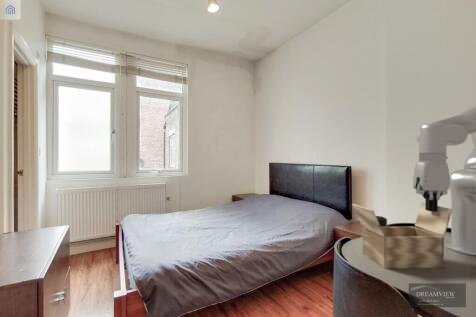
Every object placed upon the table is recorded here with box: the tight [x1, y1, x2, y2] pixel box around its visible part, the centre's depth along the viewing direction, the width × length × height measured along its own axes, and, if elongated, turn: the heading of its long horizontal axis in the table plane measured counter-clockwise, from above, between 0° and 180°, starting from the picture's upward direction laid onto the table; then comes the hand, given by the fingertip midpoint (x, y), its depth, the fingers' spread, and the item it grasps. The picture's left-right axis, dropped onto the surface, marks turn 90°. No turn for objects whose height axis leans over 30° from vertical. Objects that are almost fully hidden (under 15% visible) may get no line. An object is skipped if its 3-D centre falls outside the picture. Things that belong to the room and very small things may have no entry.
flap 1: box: [351, 203, 385, 236], centre depth 82 cm, size 9×12×1 cm
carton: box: [362, 226, 445, 270], centre depth 83 cm, size 20×12×10 cm, turn 94°
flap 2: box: [414, 202, 453, 237], centre depth 84 cm, size 9×12×1 cm
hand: (431, 210), depth 84 cm, fingers closed
